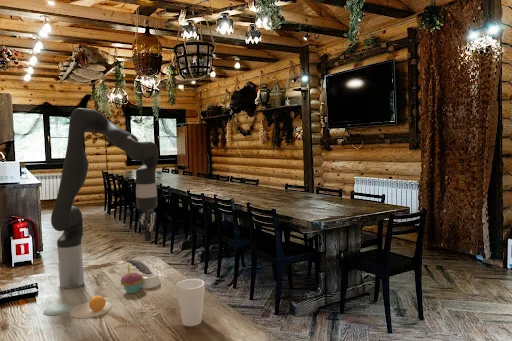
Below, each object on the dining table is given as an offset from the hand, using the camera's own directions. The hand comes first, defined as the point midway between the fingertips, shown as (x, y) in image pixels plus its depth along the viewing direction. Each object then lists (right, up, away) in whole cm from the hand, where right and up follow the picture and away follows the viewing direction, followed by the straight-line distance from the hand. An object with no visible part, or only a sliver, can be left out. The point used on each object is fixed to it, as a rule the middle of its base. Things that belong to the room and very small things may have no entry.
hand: (148, 240), depth 158 cm
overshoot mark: (-31, -24, -6) cm, 40 cm away
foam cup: (+19, -24, -19) cm, 36 cm away
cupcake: (-9, -22, +10) cm, 26 cm away
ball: (-16, -21, -8) cm, 28 cm away
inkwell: (-8, -21, +19) cm, 29 cm away
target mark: (-19, -24, -7) cm, 31 cm away
